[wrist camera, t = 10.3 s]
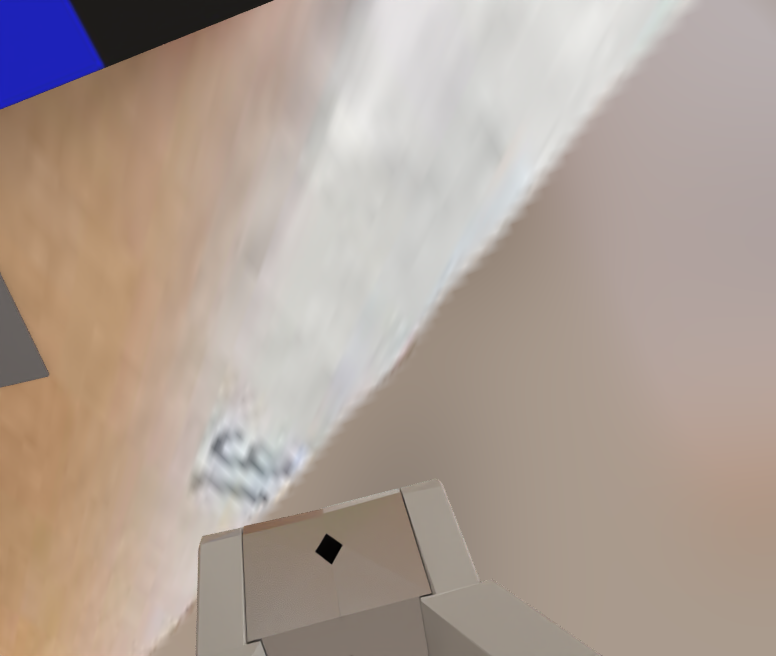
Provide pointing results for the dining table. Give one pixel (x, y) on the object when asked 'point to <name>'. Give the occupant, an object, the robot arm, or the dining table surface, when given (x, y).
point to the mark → (16, 345)
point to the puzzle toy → (91, 36)
